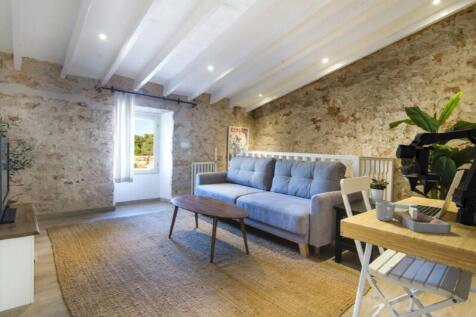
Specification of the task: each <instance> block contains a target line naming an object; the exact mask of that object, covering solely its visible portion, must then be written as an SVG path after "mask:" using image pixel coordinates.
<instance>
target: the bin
mask: <svg viewBox="0 0 476 317" xmlns="http://www.w3.org/2000/svg"><path fill="white" fill-rule="evenodd" d="M432 218H433V217H432ZM433 220H437V221H439V222H440V224H437V223H416V222H414V221H412V220H410V219H408V218H406V217H402V223H401V225H402V226H403V227H405V228H407V229H409V230H410V231H412V232H414V233H415V232H416V233H433V234H434V233H435V234H451V228H452V225H451V224H450V223H447V222H445V221H443V220H441V219H438V218H435V217H434V218H433Z"/></svg>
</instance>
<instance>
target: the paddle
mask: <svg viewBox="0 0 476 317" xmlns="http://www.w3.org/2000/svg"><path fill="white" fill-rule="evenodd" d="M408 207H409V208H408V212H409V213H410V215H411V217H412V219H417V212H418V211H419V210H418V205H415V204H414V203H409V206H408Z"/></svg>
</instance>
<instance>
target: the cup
mask: <svg viewBox="0 0 476 317" xmlns="http://www.w3.org/2000/svg"><path fill="white" fill-rule="evenodd" d="M396 206H397V205H396V203H395V202H391V201H387V200H376V201H375V217H376V219H377V220H379V221H383V222H391V221H392V220H393V219H394V218H393V215H394V211H395V210H396Z"/></svg>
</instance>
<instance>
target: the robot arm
mask: <svg viewBox="0 0 476 317" xmlns="http://www.w3.org/2000/svg"><path fill="white" fill-rule="evenodd" d="M458 139H459V140H460V139H467V140H468V141H469V143H471V144H473V145H474V148H473V152H474V157H473V159H472V162H471V164H470V167H469V169H468V172H467V175H465V179H464V181H463V183H462V185H461V186H460V187H459V188H458V187H454V189H453V193H452V194H451V198H452V202H453V203H454V204H455V207H456V208H457V211H456V217H455V218H456V219H454V220H453V221H454V222H457V223H459V224H462V225H464V226H476V128H475V127H471V128H465V129H460V130H451V131H444V132H419V133H416V135H415V136H414V139H413V140H412V141H411V142H410V143H409V144H403V143H400V144H398V145H397V149H396V150H395V158H396V159H398V160H400V159H401V160H412V159H414V161H413V160H412V161H411V164H409V165H405V166H401V167H399V169H400V174H401V175H402V176H403V177H405V178H406V179H407V181H408V183H409V186H410V192H414V191H415V190H416V187H417V185H418V183H419V180H420V182H421V183H422V184H423V185H422V186H423V190H422V191H423V196H428V194H429V193H430V191H431V190H432V189H433V187H434V186H435V185H436V184H437V183H439V182H441V181H442V176H441V175H440V174H439V173H431V171H430V170H429V169H430V166H432V162H430V159H431V158H430V157H431V151H437V148H435V147H434V146H433V144H438V143H439V142H444V141H450V140H458ZM420 178H421V179H420Z"/></svg>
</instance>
